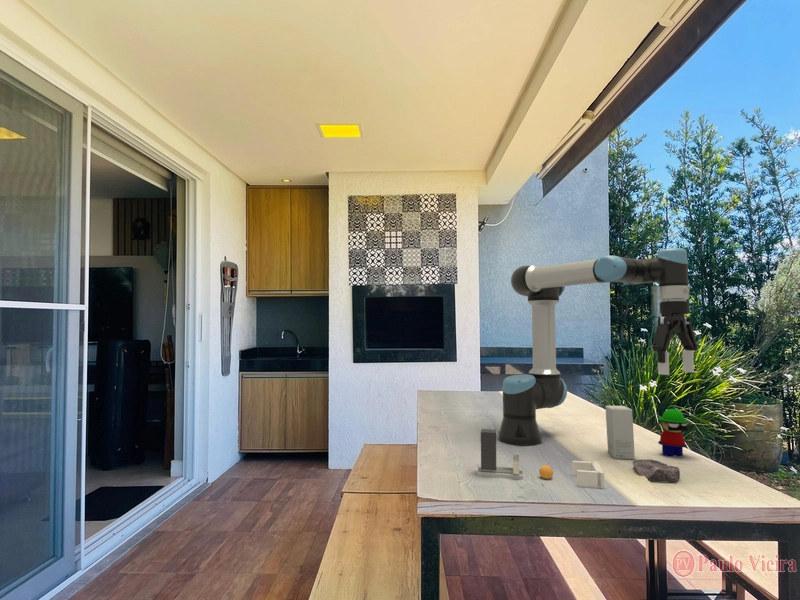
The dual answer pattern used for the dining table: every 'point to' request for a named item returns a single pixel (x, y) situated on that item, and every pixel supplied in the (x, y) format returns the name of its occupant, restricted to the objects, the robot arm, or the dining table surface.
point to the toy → (673, 433)
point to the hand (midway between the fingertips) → (676, 373)
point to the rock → (656, 470)
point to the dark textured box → (494, 454)
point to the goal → (588, 474)
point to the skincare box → (620, 432)
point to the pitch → (500, 474)
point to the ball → (546, 472)
